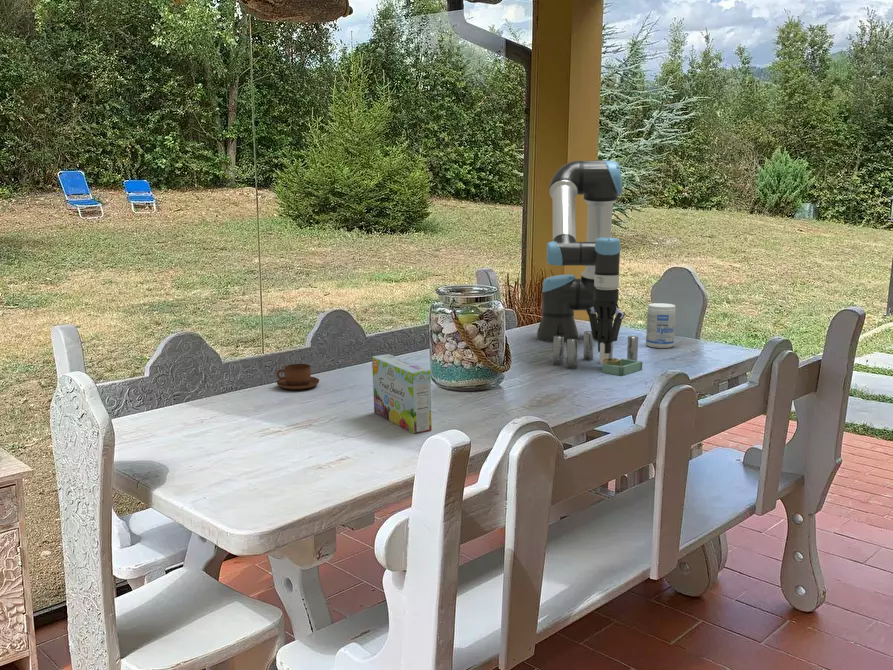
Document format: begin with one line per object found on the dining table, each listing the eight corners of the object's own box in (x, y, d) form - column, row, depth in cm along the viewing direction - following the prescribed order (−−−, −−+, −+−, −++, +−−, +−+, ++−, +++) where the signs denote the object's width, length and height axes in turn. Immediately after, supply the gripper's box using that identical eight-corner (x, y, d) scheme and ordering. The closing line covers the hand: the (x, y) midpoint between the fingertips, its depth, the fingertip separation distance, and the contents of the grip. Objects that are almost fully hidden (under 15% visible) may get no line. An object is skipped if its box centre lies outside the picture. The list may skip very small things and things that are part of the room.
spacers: (549, 364, 270) (549, 337, 269) (585, 355, 284) (585, 328, 283) (604, 375, 256) (605, 345, 255) (639, 364, 270) (640, 336, 268)
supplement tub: (658, 349, 293) (660, 307, 290) (640, 345, 301) (641, 304, 298) (679, 347, 297) (681, 305, 294) (661, 342, 305) (662, 302, 303)
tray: (602, 372, 260) (602, 364, 260) (622, 366, 268) (622, 358, 268) (621, 375, 255) (622, 367, 255) (642, 369, 263) (642, 361, 263)
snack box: (371, 413, 216) (370, 355, 214) (391, 410, 219) (390, 353, 217) (412, 434, 199) (412, 371, 196) (433, 430, 202) (432, 369, 199)
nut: (613, 371, 261) (613, 361, 260) (601, 369, 264) (601, 359, 263) (622, 368, 264) (623, 359, 264) (610, 366, 267) (610, 357, 267)
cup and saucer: (278, 394, 236) (277, 372, 235) (275, 384, 248) (274, 363, 247) (321, 391, 239) (321, 369, 238) (316, 381, 251) (316, 360, 250)
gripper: (581, 287, 263) (579, 361, 268) (617, 291, 254) (614, 368, 259) (595, 285, 269) (593, 358, 273) (631, 288, 260) (628, 364, 264)
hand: (603, 362), depth 266 cm, fingers closed
